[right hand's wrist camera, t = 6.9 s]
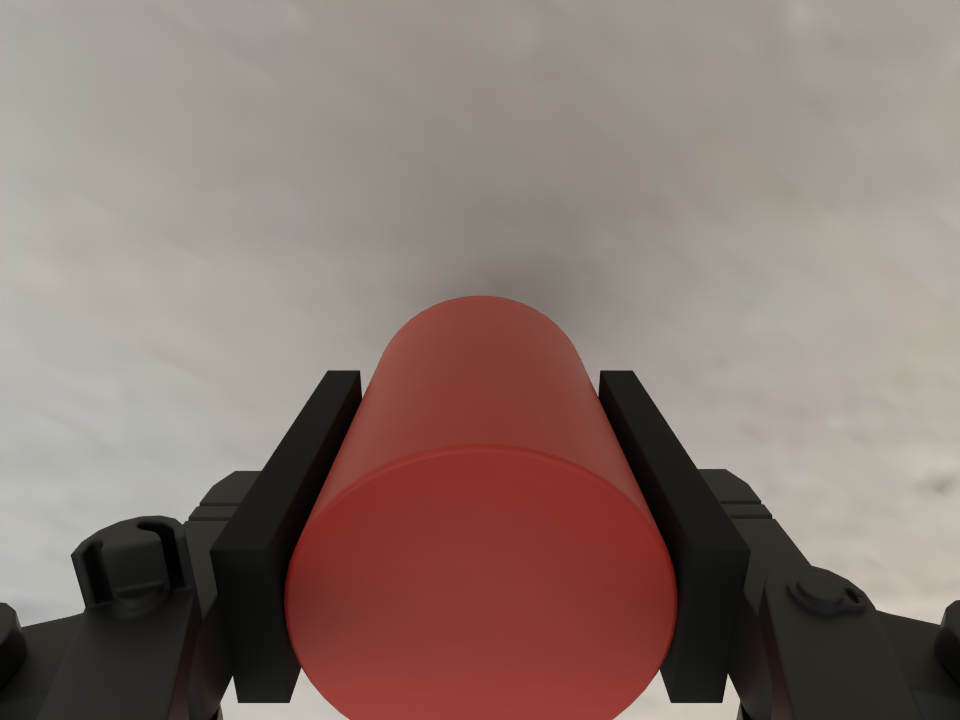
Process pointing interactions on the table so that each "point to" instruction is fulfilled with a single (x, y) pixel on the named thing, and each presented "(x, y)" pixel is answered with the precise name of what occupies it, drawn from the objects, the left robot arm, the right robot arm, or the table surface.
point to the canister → (480, 536)
